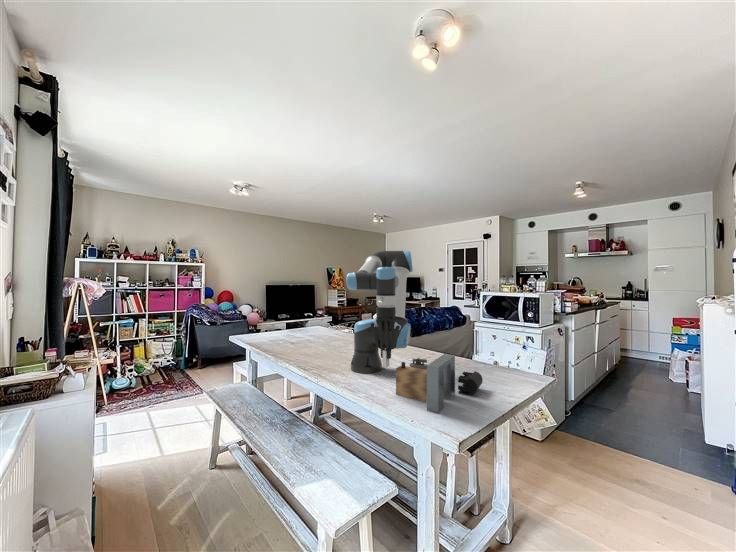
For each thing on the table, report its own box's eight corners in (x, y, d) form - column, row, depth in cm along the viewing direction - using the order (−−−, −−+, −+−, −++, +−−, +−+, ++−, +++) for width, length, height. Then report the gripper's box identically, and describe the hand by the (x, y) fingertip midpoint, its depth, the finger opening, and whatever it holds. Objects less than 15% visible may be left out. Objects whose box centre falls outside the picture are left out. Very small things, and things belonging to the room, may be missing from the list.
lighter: (408, 382, 131) (408, 358, 130) (410, 379, 134) (410, 356, 134) (427, 384, 128) (427, 360, 127) (429, 382, 131) (429, 358, 131)
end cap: (477, 397, 114) (477, 379, 114) (457, 394, 118) (457, 376, 118) (482, 389, 123) (482, 372, 123) (464, 385, 126) (464, 369, 126)
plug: (395, 394, 117) (395, 363, 117) (401, 391, 121) (401, 360, 121) (428, 402, 110) (428, 368, 110) (433, 398, 114) (433, 365, 114)
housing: (425, 410, 104) (425, 365, 104) (443, 392, 119) (443, 353, 119) (438, 413, 101) (438, 367, 101) (454, 395, 116) (454, 355, 116)
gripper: (366, 306, 122) (366, 366, 122) (396, 308, 115) (396, 371, 115) (376, 304, 128) (376, 362, 128) (405, 306, 121) (405, 366, 121)
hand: (385, 366), depth 122 cm, fingers closed
